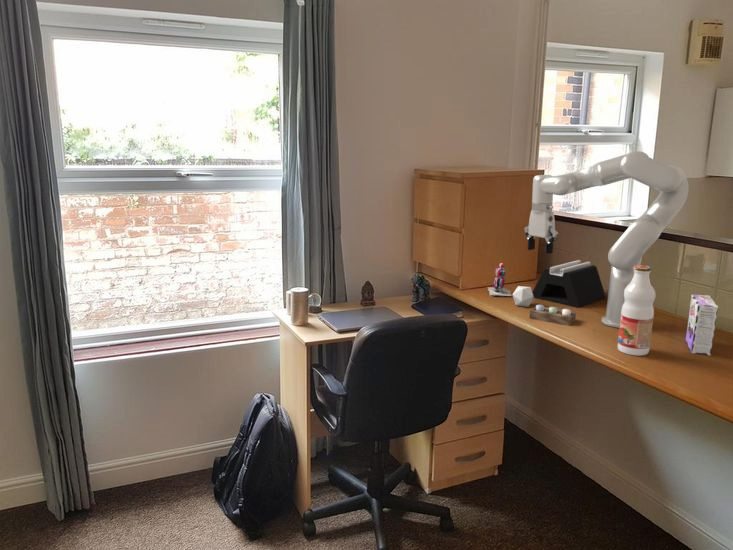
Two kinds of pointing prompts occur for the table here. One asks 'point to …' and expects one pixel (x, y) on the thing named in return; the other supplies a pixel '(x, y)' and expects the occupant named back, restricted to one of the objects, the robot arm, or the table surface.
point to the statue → (499, 284)
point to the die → (523, 296)
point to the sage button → (553, 310)
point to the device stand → (570, 284)
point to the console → (552, 316)
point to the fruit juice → (637, 314)
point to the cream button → (566, 312)
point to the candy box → (701, 324)
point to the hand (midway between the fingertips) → (539, 251)
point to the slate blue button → (540, 307)
